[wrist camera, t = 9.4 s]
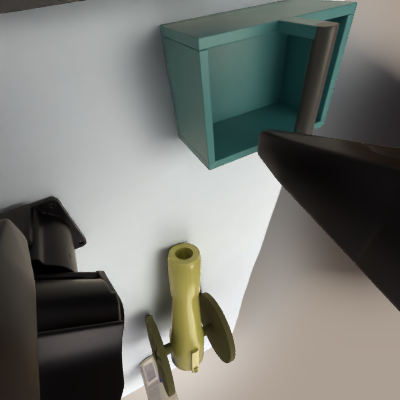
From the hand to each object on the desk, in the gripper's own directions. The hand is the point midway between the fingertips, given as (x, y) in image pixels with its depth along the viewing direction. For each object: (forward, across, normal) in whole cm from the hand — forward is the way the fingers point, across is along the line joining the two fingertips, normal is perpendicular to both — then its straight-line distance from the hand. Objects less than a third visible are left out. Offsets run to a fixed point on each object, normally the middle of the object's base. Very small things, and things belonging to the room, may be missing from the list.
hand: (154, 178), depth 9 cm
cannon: (+13, -1, +33) cm, 36 cm away
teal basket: (+13, -11, +2) cm, 17 cm away
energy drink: (+14, +8, +56) cm, 58 cm away
